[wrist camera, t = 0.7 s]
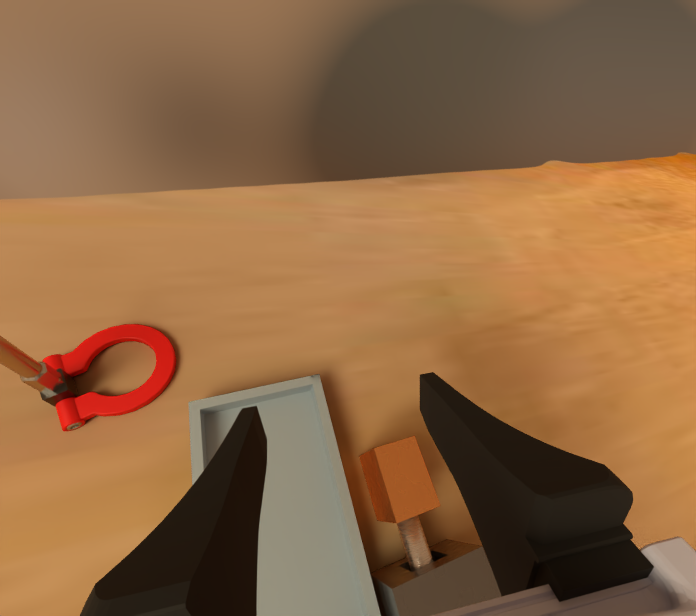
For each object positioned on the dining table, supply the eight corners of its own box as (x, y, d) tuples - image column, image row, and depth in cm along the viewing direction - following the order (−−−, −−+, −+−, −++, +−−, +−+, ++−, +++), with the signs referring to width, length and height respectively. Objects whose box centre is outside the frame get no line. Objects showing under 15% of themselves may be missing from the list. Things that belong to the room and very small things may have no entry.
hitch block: (475, 617, 24) (521, 642, 19) (392, 662, 22) (423, 703, 17) (446, 539, 26) (482, 546, 22) (370, 573, 24) (391, 588, 20)
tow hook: (158, 316, 32) (44, 358, 28) (111, 220, 22) (-85, 261, 17) (191, 386, 29) (70, 444, 25) (155, 313, 19) (-67, 392, 14)
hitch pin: (468, 663, 22) (512, 699, 18) (424, 689, 21) (461, 734, 17) (394, 445, 29) (414, 435, 25) (359, 456, 28) (373, 448, 24)
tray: (383, 656, 22) (395, 672, 20) (213, 748, 18) (205, 779, 16) (316, 382, 31) (319, 373, 29) (194, 409, 28) (188, 402, 26)
